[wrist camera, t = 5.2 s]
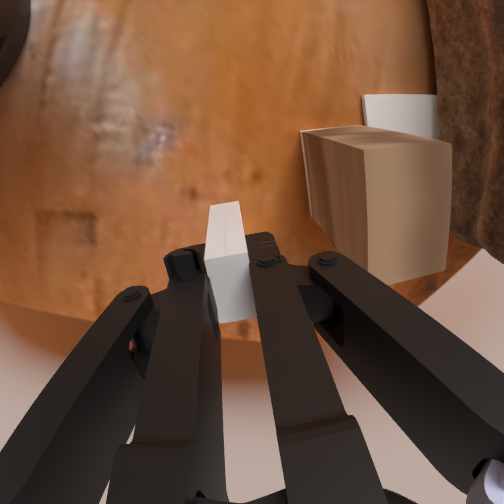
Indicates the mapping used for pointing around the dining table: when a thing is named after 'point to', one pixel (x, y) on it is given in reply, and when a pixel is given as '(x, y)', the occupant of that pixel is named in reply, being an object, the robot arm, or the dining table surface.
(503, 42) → the bread
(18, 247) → the dining table surface
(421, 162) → the block
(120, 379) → the robot arm
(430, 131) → the mat
